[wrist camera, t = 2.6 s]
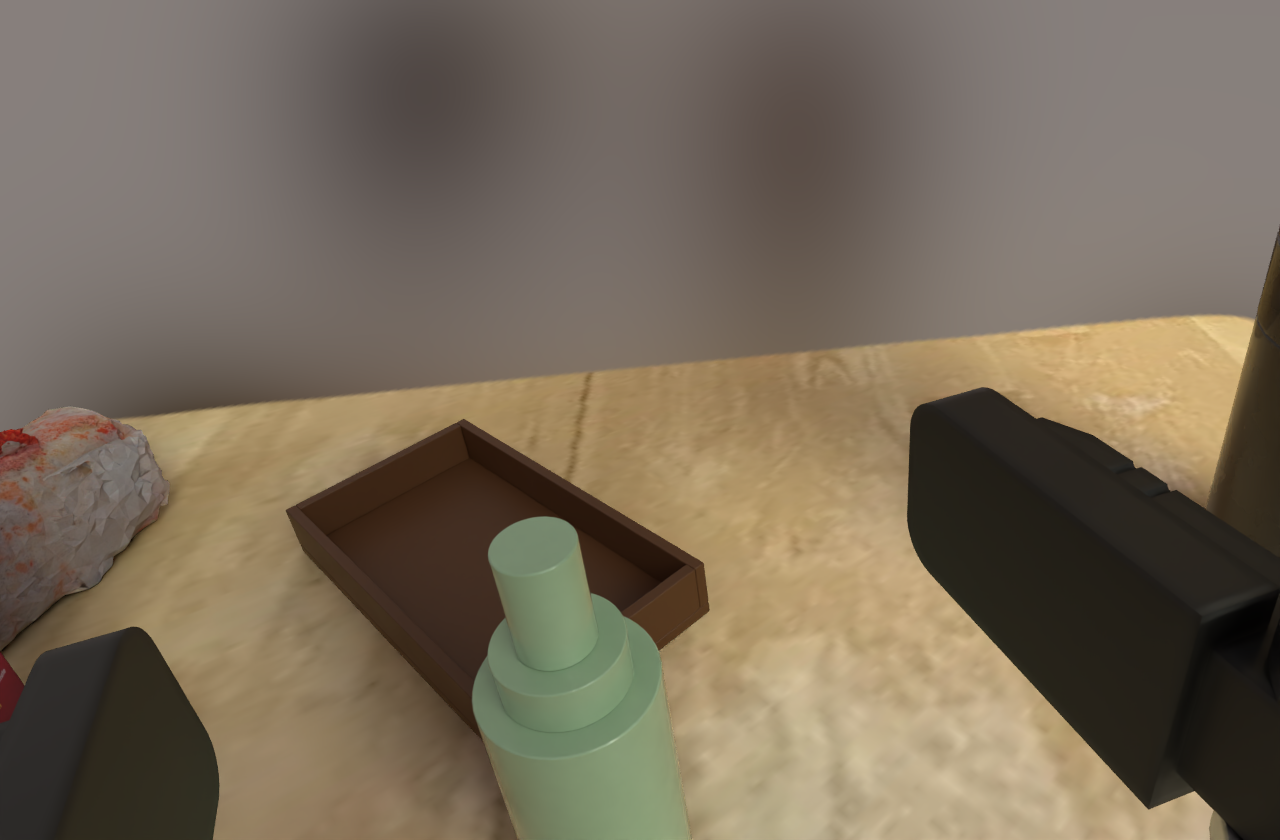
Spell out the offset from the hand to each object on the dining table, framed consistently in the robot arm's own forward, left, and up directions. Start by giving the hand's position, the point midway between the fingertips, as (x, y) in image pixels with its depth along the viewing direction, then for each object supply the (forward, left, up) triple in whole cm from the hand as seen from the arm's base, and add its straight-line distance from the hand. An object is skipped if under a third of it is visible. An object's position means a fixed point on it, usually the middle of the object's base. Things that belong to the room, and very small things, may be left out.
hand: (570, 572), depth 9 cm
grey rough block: (+6, -49, -24) cm, 55 cm away
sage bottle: (-5, -10, -24) cm, 26 cm away
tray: (-11, -28, -24) cm, 38 cm away
